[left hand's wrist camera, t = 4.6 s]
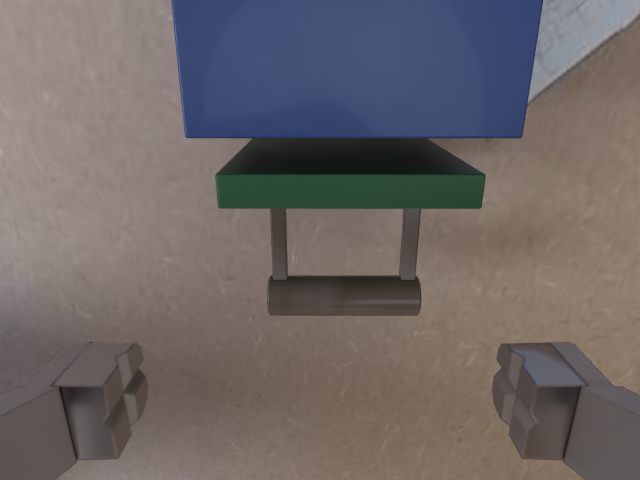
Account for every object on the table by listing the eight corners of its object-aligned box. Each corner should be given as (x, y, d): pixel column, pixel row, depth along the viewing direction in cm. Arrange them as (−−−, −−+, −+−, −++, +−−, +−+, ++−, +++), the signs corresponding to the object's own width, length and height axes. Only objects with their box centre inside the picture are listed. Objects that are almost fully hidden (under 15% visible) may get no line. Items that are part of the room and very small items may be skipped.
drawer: (415, 256, 26) (463, 348, 17) (259, 256, 26) (229, 348, 17) (451, -196, 19) (564, -426, 10) (237, -196, 19) (166, -426, 10)
